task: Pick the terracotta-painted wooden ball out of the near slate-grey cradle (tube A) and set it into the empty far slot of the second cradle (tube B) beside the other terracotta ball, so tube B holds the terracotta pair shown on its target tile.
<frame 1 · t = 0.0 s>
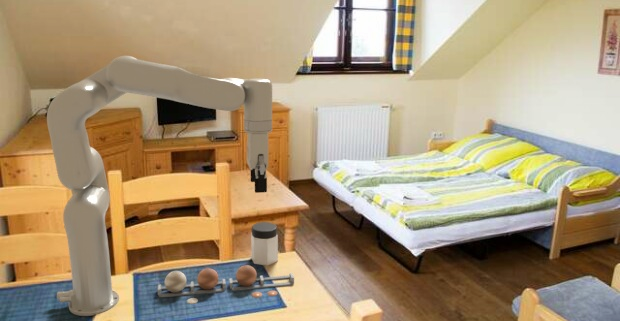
hand: (258, 186, 140), 31 cm above the table, fingers open, 9 cm apart
cream ball: (176, 291, 145), point 1 cm above the table, touching tube stand
tube stand: (227, 288, 148), on the table
jar: (264, 261, 166), on the table
terracotta ball a: (208, 288, 147), point 1 cm above the table, touching tube stand
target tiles: (229, 299, 142), on the table
terracotta ball b: (246, 284, 149), point 1 cm above the table, touching tube stand
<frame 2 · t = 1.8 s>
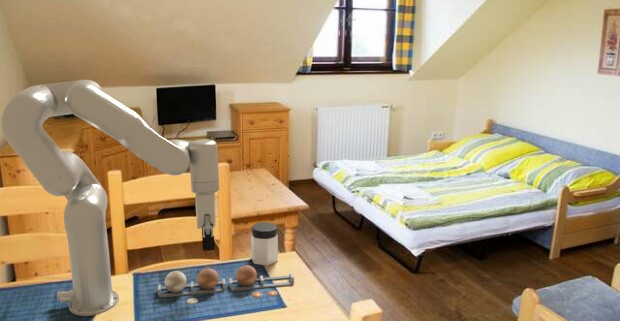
hand: (208, 242, 143), 15 cm above the table, fingers open, 9 cm apart
nothing on the table moved.
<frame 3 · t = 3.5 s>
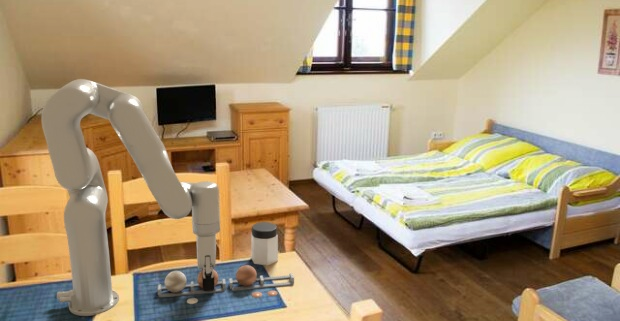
hand: (208, 283, 146), 2 cm above the table, fingers closed on terracotta ball a, 6 cm apart
terracotta ball a: (208, 288, 147), point 1 cm above the table, touching gripper, tube stand
everything else where it was.
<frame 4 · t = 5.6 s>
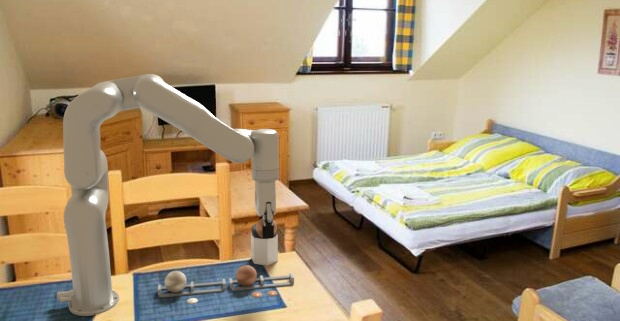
hand: (266, 233, 147), 16 cm above the table, fingers closed on terracotta ball a, 5 cm apart
terracotta ball a: (266, 237, 147), point 15 cm above the table, touching gripper
everything else where it was.
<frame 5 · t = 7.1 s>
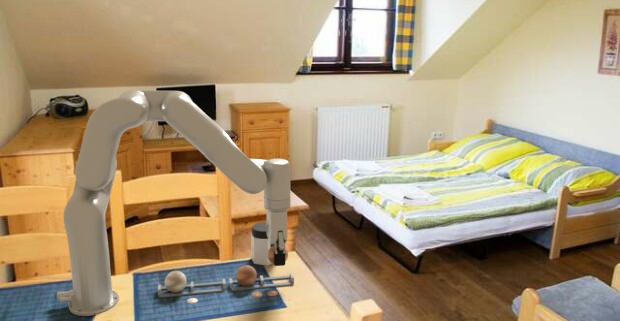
hand: (277, 259, 149), 8 cm above the table, fingers closed on terracotta ball a, 5 cm apart
terracotta ball a: (277, 263, 150), point 6 cm above the table, touching gripper
everything else where it was.
when the fingers open (3 cm above the table, at t = 8.2 s): terracotta ball a drops 1 cm, resting on tube stand.
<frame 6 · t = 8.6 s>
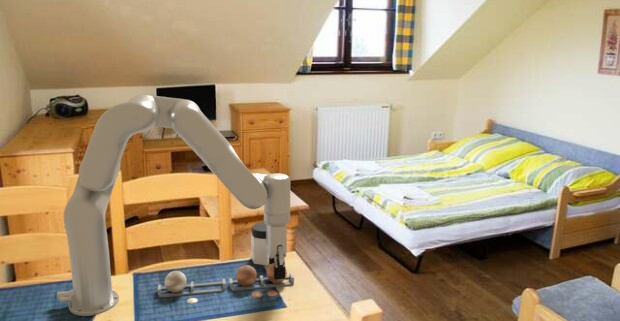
hand: (276, 271, 150), 4 cm above the table, fingers open, 9 cm apart
terracotta ball a: (276, 282, 151), point 1 cm above the table, touching tube stand
everything else where it was.
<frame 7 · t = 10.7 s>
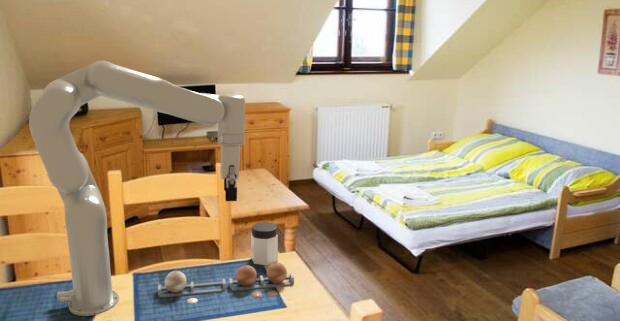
hand: (230, 195, 149), 26 cm above the table, fingers open, 9 cm apart
nothing on the table moved.
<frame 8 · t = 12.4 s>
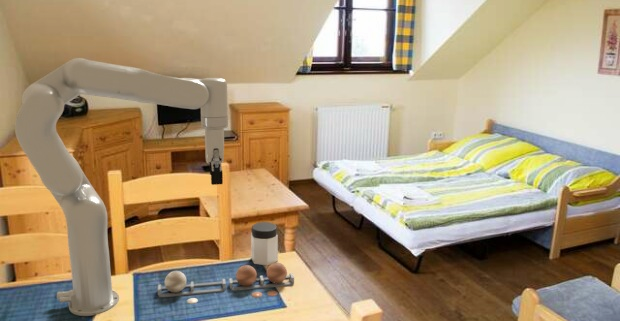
hand: (216, 179, 150), 30 cm above the table, fingers open, 9 cm apart
nothing on the table moved.
at the end: terracotta ball a 0.1 cm from the target spot, point 0.6 cm above the table; terracotta ball a 8.9 cm from the terracotta ball b (horizontally); terracotta ball b moved 0.2 cm from its start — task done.
